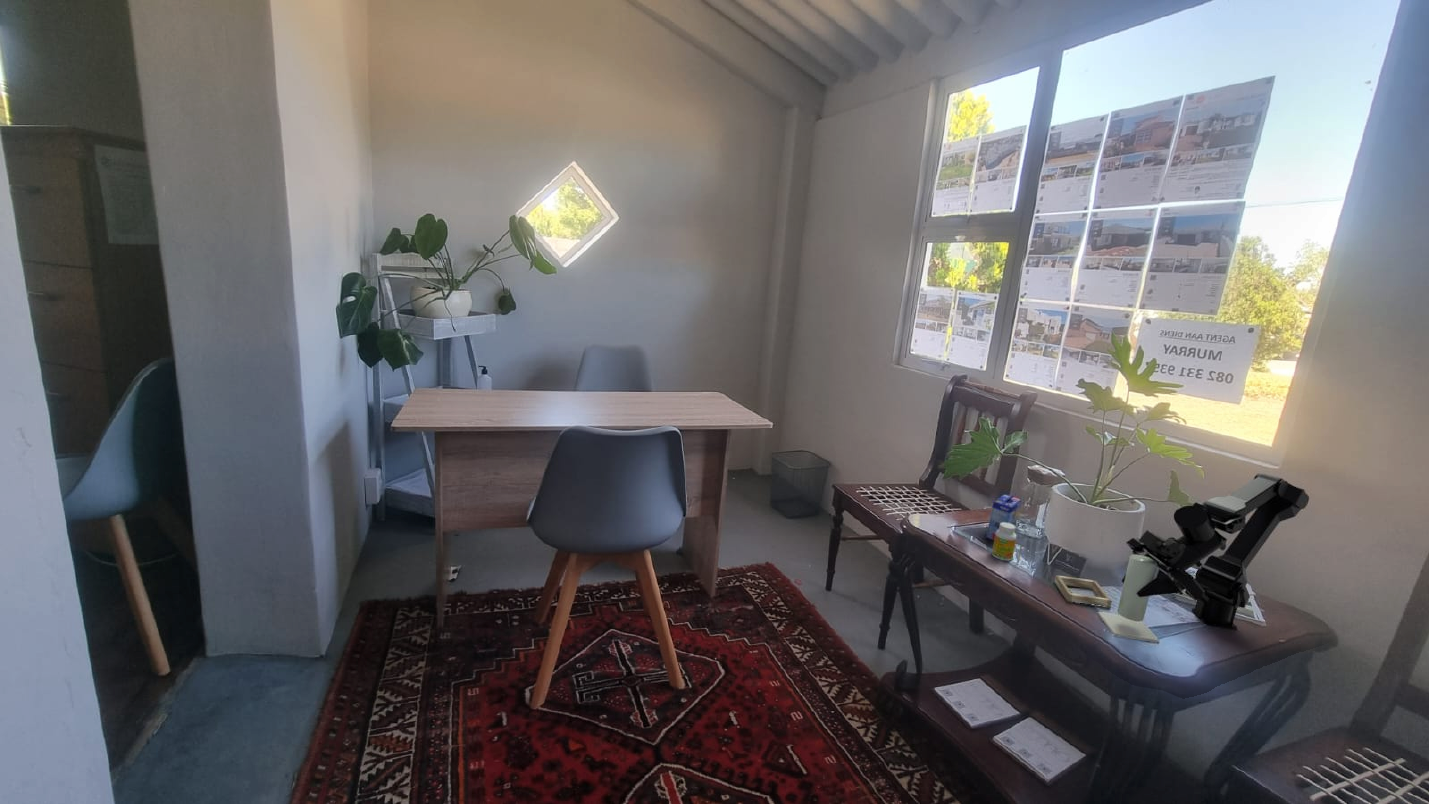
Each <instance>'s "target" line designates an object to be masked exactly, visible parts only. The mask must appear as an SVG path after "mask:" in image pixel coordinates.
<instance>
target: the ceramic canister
mask: <svg viewBox="0 0 1429 804" xmlns="http://www.w3.org/2000/svg"><path fill="white" fill-rule="evenodd" d="M1157 568H1158V567H1157V562H1156V561H1154V560H1153V559H1151V558H1149V557H1146V556H1142V555H1134V554H1131V555H1130V556H1129V560H1128V564H1127V568H1126V573H1125V574H1126V576H1125V575H1124V576H1125V581H1124V583H1123V585H1122V589H1121V595H1120V599H1119V602H1118V607H1117V613H1118V614H1119V615H1121V616H1123V617H1124V618H1126V619H1129V620H1132V621H1143V622H1144V619H1145V615H1146V612H1147V607H1148V603H1149V599H1150V596H1146V597H1139V596H1138V595H1137V592H1138V591H1139V590H1140V589H1142V588H1143V587H1144V586H1146V585H1147V584H1148V583H1150V582H1151V581H1152V580H1154V579H1155V574H1156V570H1157Z"/></svg>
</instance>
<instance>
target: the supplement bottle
mask: <svg viewBox="0 0 1429 804" xmlns="http://www.w3.org/2000/svg"><path fill="white" fill-rule="evenodd" d="M1015 531H1016V526H1014V525H1013V524H1010V523H1005V522H1002V523H1000V526H999V530H997V531H996V533H995V539H994V540H993V544H992V545H993V546H992V551H991V554H992V556H993V557H994V558H996V559H998V560H1000V561H1006V562H1007V561H1008V562H1009V561H1012V560H1013V558H1014V552H1015V547H1016V542H1017V534H1016V533H1015Z"/></svg>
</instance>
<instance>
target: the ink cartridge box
mask: <svg viewBox="0 0 1429 804" xmlns="http://www.w3.org/2000/svg"><path fill="white" fill-rule="evenodd" d="M1016 494H1017V492H1015V493H1014V494H1012V495H1008V494H1002V495H1001V496H1000V497H998V498H997V499H995V500H994V501H993V503H992V508H991V513H990V517H989V518H990V519H989V522H988V527H987V532H986V535H985V536H986V538H987V539H990V540H992V541H994V539H995V533H996V531H997V530H999V526H1000V523H1002V522H1005V523H1010V524H1013V525H1014V526H1015V527H1016V525H1017V521H1018V515H1019V512H1020V507H1021V502H1022V499H1020V498H1017V497H1015V495H1016Z"/></svg>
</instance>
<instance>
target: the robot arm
mask: <svg viewBox="0 0 1429 804" xmlns="http://www.w3.org/2000/svg"><path fill="white" fill-rule="evenodd" d="M1309 501H1310V496H1309V495H1308V494H1307V493H1306V490H1305V489H1304V488H1300V487H1297V486H1295V485H1293V484H1291V483H1289V482H1288V481H1287V480H1284V479H1283V478H1281V477H1278V476H1275V475H1270V474H1266V473H1260V472H1259V473H1256V475H1255V476H1254V477H1253V479H1252V480H1250V481H1249V482H1248V483H1246V484H1245V485H1243V486H1241V487H1239V488H1238V489H1237V490H1235V491H1234V492H1232V493H1231V494H1229V495H1227V496H1215V497H1213V498H1210V499H1207V500H1205V501H1203V502H1202V503H1200V502H1198V501H1197V502H1196V501H1195V502H1193V503H1194V504H1193V505H1185V506H1181V507H1180V508H1177V509H1176V510H1175V511H1174V514H1173V520H1174V522H1175V524H1176V526H1177V528H1178V529H1179V531H1180V533H1181V534H1182V536H1181V537H1179V538H1177V539H1176V538H1175V537H1173V536H1172V537H1168V538H1167V539H1165V538H1163V537H1161V536H1159V535H1158V534H1156V533H1154V532H1152V531H1150V530H1147V529H1146V530H1145V532H1144V533H1143V534H1142V536H1141V537H1140V538H1139V537H1132V538H1131V539H1129V540H1127V541H1125V544H1126V545H1127V546H1128V547H1129V548H1130V549H1131V552H1132V555H1142V556H1146V557H1149V558H1151V559H1153V560H1154V561H1156V562H1157V567H1156V568H1158V571H1157V575H1156V576H1155V577H1154V579H1153V580H1152V581H1151V582H1150V583H1148V584H1147V585H1146V586H1144V587H1143V588H1142V589H1140V590H1139V591H1138V592H1137V595H1138V596H1139V597H1146V596H1149V597H1152V596H1158V595H1173V594H1179V595H1180V596H1181V595H1184V593H1185V595H1186V596H1188V597H1190V598H1191V599H1192V600H1193V601H1195V607H1193V608H1191V611H1192V612H1193V613H1194V614H1195V615H1196V616H1197V617H1198V618H1199V620H1201V621H1202V623H1204V624H1205V625H1207V626H1215V627H1220V628H1227V629H1232V630H1233V629H1234V630H1238V626H1237V625H1236V624H1235V623H1234V622H1235V618H1236V614H1237V611H1238V608H1242V609H1245V608H1246V607H1247V604H1248V603H1249V599H1250V597H1251V595H1250V593H1249V591H1248V589H1247V584H1248V576H1247V568H1248V567H1249V565H1250V564H1251V562H1252V561H1253V560H1254V559H1255V557H1256V555H1257V554H1258V553H1259V551H1260V550H1261V549H1262V547H1263V546H1264V544H1265V543H1266V541H1267V540H1268V539H1269V537H1271V534H1272V533H1273V532H1274V530H1275V529H1276V528H1277V526H1278V525H1279V524H1280V523H1281V522H1283V521H1286V520H1289V519H1292V518H1295V517H1296V516H1297V515H1298V514H1299V512H1301V510H1304V509H1305V508H1306V507H1307V506H1308V503H1309ZM1253 511H1254V512H1253ZM1252 512H1253V513H1252ZM1250 513H1252V515H1251V516H1250V517H1249V518H1248V520H1247V521H1246V517H1247V515H1249V514H1250ZM1217 530H1219V531H1221V532H1223V533H1226V534H1229V535H1233V534H1235V533H1237V532H1238V533H1237V535H1236V536H1235V538H1234V539H1233V540H1232V541H1231V543H1230V545H1229V546H1228V547H1227V541H1228V539H1227V538H1226V537H1225V536H1223V535H1222V534H1221V533H1220V532H1218V531H1217ZM1219 549H1220V550H1221V551H1224V552H1223V554H1222V555H1219V556H1216V555H1213V553H1214V552H1215V551H1217V550H1219ZM1211 554H1212V555H1211ZM1206 557H1208V558H1207V560H1206V561H1205V562H1204V564H1203V563H1202V562H1201V561H1202V560H1204V559H1205V558H1206ZM1193 566H1195V567H1197V568H1198V569H1197V571H1196V573H1195V576H1193V575H1192V574H1190V573H1189V572H1188V571H1187V570H1189V569H1190V568H1192V567H1193ZM1125 576H1126V573H1125V574H1124V576H1123V578H1121V582H1122V583H1123V584H1124V581H1125ZM1183 591H1184V592H1183Z"/></svg>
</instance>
